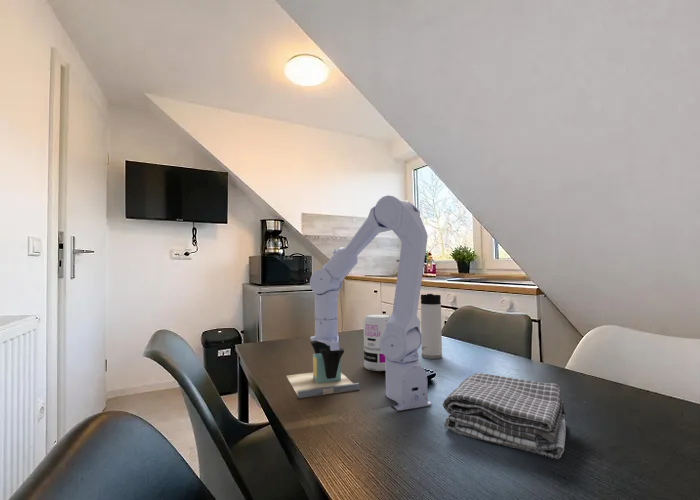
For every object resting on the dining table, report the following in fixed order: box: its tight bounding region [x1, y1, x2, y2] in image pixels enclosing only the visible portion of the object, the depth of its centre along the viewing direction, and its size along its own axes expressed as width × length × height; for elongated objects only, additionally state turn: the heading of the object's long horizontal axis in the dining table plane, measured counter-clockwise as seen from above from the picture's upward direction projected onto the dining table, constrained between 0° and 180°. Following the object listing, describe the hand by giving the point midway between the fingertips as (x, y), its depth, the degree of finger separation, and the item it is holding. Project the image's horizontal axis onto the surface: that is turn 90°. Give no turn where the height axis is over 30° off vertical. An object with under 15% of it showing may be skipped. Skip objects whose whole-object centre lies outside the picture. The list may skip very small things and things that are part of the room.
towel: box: [442, 372, 567, 460], centre depth 63 cm, size 15×18×8 cm
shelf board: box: [286, 371, 361, 399], centre depth 85 cm, size 16×14×2 cm
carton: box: [312, 353, 342, 383], centre depth 87 cm, size 4×6×6 cm, turn 110°
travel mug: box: [420, 293, 443, 360], centre depth 110 cm, size 6×7×20 cm
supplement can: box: [363, 313, 392, 372], centre depth 98 cm, size 8×8×15 cm
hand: (326, 373), depth 87 cm, fingers open, 7 cm apart
